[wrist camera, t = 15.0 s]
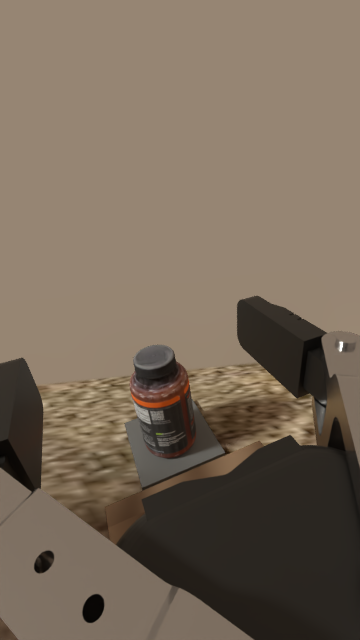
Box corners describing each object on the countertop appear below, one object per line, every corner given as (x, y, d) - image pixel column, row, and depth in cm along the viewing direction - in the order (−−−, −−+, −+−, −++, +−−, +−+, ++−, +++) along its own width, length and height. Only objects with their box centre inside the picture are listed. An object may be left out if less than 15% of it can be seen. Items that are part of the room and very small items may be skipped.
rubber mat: (143, 490, 29) (142, 487, 29) (125, 426, 37) (124, 423, 36) (225, 455, 31) (225, 452, 31) (192, 401, 39) (192, 398, 39)
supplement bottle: (182, 410, 37) (170, 332, 32) (206, 445, 32) (196, 359, 27) (137, 430, 35) (116, 350, 30) (155, 470, 30) (133, 383, 25)
